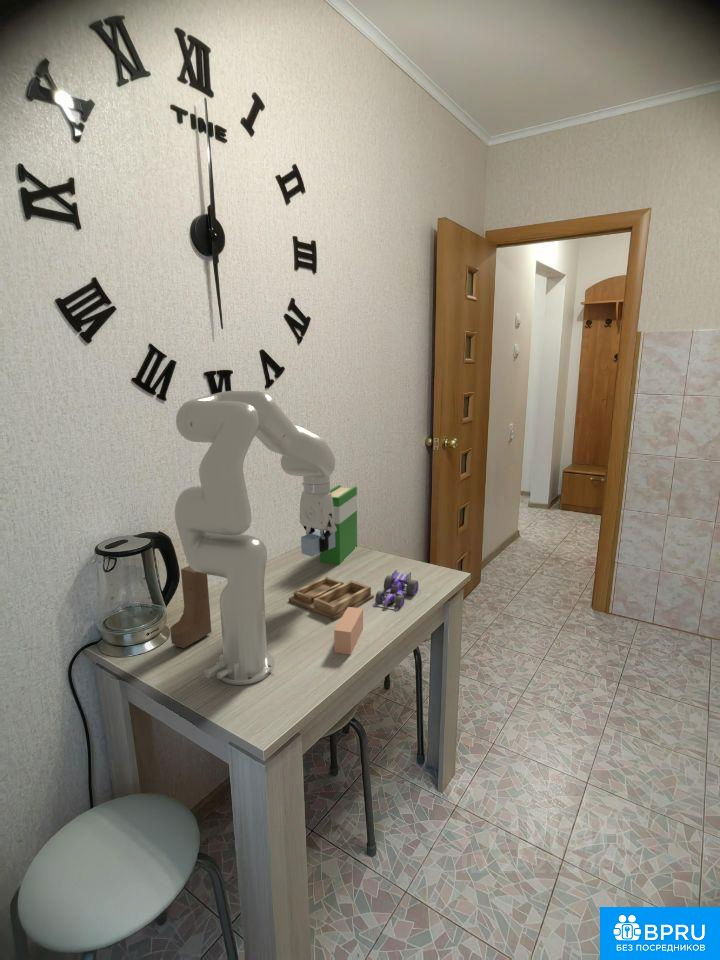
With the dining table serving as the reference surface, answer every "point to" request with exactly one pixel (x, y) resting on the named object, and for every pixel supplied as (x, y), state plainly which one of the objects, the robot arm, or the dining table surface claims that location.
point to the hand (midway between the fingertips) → (318, 548)
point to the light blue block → (314, 543)
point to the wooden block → (192, 609)
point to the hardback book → (343, 525)
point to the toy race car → (396, 590)
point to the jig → (331, 597)
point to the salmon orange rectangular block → (348, 630)
